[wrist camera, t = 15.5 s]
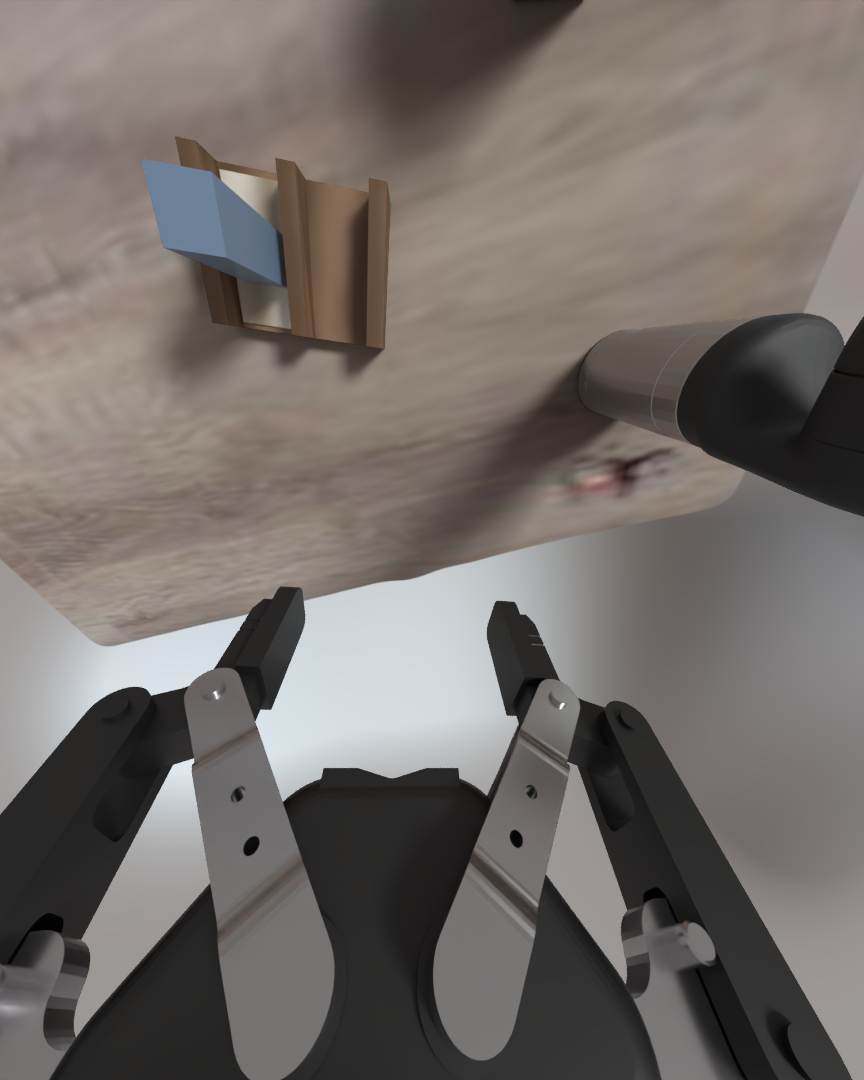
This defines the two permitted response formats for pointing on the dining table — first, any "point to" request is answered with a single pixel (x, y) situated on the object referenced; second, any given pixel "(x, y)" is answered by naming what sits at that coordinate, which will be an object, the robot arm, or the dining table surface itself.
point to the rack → (307, 254)
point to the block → (214, 224)
